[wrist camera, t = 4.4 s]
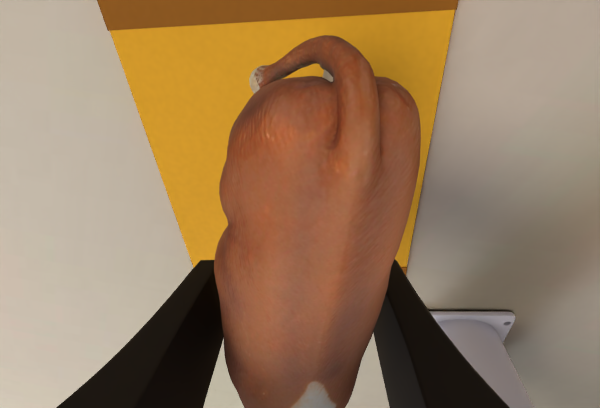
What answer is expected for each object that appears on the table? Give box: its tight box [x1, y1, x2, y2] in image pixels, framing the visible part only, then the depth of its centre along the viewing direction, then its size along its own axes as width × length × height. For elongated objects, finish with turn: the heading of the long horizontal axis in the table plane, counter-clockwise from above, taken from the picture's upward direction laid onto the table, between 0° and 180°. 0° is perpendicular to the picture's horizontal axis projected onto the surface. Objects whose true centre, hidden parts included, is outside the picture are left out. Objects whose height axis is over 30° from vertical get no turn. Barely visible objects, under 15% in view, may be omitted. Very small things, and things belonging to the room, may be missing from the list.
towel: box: [97, 0, 458, 275], centre depth 19 cm, size 20×15×1 cm
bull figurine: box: [214, 35, 421, 408], centre depth 10 cm, size 4×13×8 cm, turn 167°
